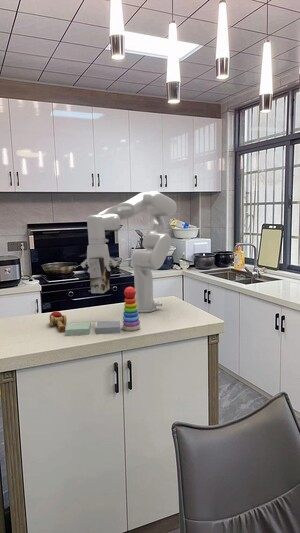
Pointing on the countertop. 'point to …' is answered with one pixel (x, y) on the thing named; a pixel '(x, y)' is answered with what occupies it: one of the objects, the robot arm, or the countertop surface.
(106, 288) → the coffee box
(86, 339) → the countertop surface
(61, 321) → the kendama
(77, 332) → the sage brick
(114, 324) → the grey brick
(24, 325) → the countertop surface
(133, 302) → the stacking toy
